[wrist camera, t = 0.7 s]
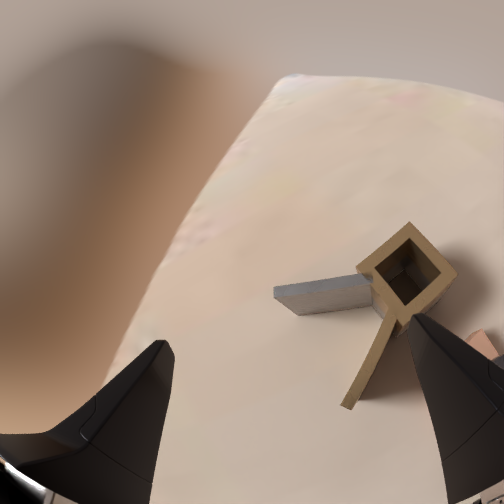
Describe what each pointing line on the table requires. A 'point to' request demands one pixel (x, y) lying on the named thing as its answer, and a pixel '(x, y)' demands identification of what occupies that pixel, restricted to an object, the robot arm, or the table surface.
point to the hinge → (377, 293)
